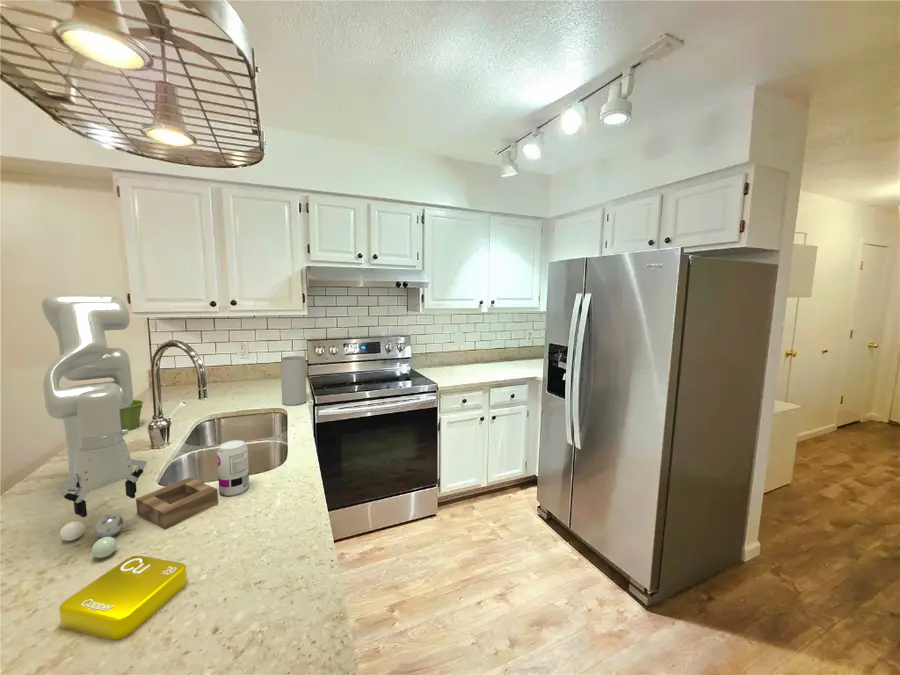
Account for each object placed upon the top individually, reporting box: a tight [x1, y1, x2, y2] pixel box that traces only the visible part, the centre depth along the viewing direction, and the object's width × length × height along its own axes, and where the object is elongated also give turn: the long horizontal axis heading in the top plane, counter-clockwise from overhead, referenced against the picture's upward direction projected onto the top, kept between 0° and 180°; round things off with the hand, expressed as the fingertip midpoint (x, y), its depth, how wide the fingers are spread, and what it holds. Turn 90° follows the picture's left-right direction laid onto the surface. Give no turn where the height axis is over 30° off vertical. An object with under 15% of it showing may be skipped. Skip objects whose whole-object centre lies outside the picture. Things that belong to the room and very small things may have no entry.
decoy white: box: [59, 520, 86, 542], centre depth 94 cm, size 4×4×4 cm
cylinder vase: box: [280, 355, 307, 406], centre depth 208 cm, size 12×12×25 cm
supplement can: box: [216, 439, 250, 497], centre depth 118 cm, size 8×8×15 cm
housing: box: [135, 476, 219, 530], centre depth 108 cm, size 14×14×4 cm
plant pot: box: [119, 399, 145, 431], centre depth 166 cm, size 12×12×11 cm
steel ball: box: [94, 513, 124, 538], centre depth 96 cm, size 5×5×5 cm
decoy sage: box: [91, 536, 118, 559], centre depth 89 cm, size 4×4×4 cm
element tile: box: [58, 555, 188, 640], centre depth 77 cm, size 15×15×5 cm
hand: (107, 505), depth 95 cm, fingers open, 9 cm apart
